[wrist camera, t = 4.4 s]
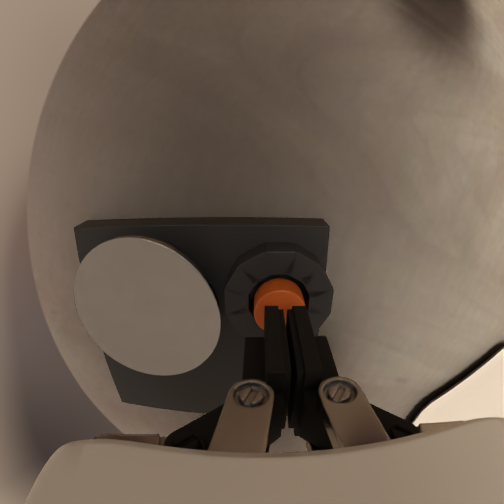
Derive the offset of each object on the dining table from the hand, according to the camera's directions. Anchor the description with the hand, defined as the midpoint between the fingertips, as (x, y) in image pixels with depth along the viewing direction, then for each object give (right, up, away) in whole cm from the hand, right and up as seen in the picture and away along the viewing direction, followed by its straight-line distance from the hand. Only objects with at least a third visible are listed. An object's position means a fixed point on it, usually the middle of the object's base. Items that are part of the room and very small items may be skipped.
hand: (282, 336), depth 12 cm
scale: (-4, -1, +6) cm, 8 cm away
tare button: (0, +1, +3) cm, 3 cm away
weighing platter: (-7, 0, +3) cm, 7 cm away
